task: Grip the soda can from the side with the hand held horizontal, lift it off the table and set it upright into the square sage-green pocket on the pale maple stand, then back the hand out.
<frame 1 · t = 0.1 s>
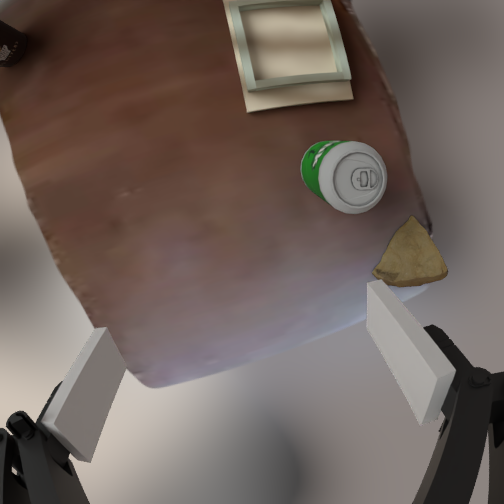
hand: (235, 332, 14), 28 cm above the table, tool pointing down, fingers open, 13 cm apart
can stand: (286, 44, 32), on the table
soda can: (325, 167, 39), on the table
rock: (394, 249, 43), on the table
coffee mug: (9, 54, 28), on the table
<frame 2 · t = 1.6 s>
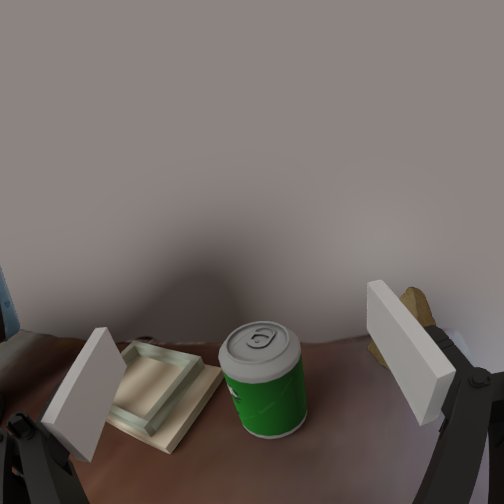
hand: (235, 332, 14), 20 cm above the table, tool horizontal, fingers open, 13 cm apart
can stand: (147, 394, 36), on the table
soda can: (275, 418, 30), on the table
rock: (402, 367, 32), on the table
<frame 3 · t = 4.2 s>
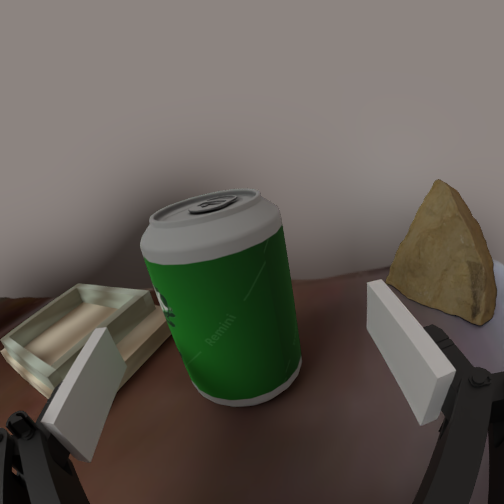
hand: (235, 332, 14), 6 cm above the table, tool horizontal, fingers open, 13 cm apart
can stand: (80, 346, 25), on the table
soda can: (249, 376, 20), on the table
rock: (439, 302, 22), on the table
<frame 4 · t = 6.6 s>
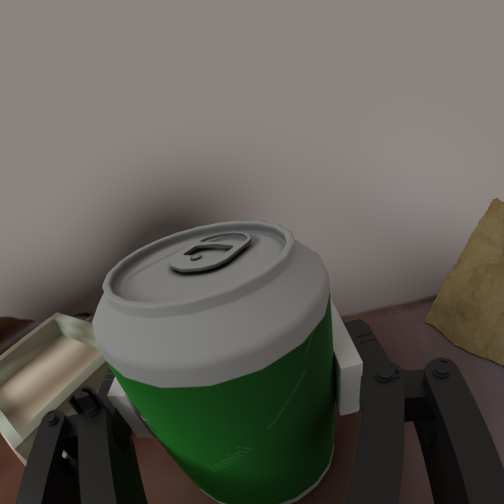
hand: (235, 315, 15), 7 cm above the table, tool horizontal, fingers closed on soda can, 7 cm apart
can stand: (58, 393, 19), on the table
soda can: (263, 459, 13), on the table, touching gripper
rock: (487, 347, 16), on the table
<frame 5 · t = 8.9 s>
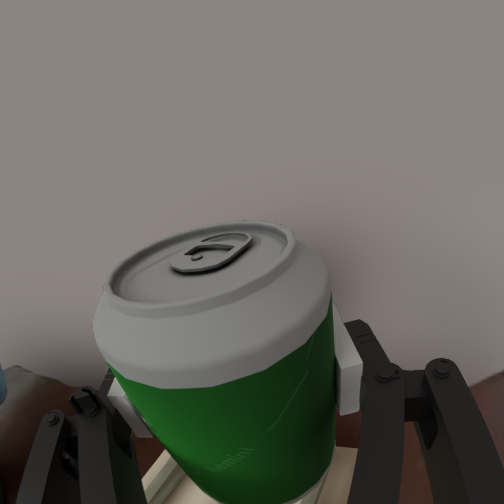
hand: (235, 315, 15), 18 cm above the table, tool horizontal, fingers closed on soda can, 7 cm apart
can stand: (241, 500, 19), on the table
soda can: (264, 460, 13), point 11 cm above the table, touching gripper
when the fingers open (9 cm above the table, at t = 11.6 s): soda can drops 1 cm, resting on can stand.
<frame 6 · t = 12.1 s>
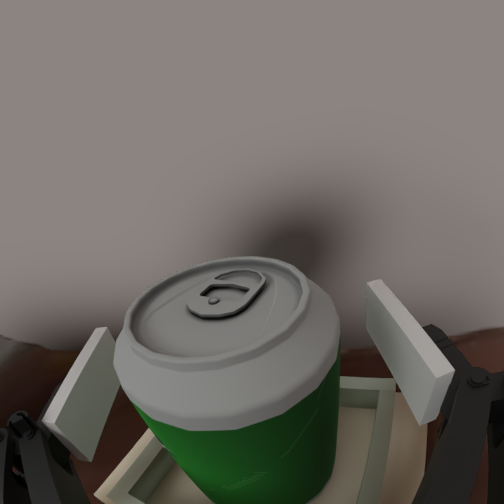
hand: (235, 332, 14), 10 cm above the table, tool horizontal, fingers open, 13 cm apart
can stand: (270, 477, 14), on the table
soda can: (268, 470, 14), point 1 cm above the table, touching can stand
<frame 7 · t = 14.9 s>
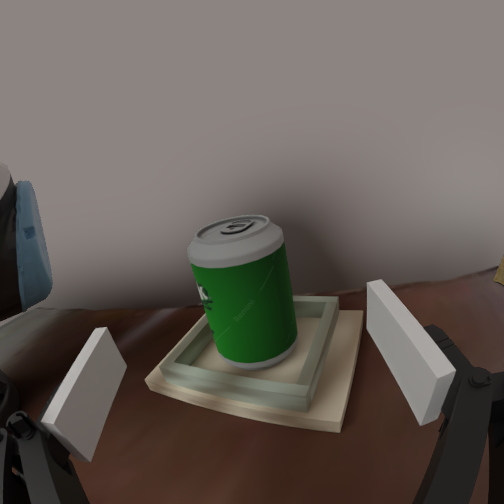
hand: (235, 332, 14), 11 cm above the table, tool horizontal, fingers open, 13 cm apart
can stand: (261, 360, 28), on the table
soda can: (259, 350, 27), point 1 cm above the table, touching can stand
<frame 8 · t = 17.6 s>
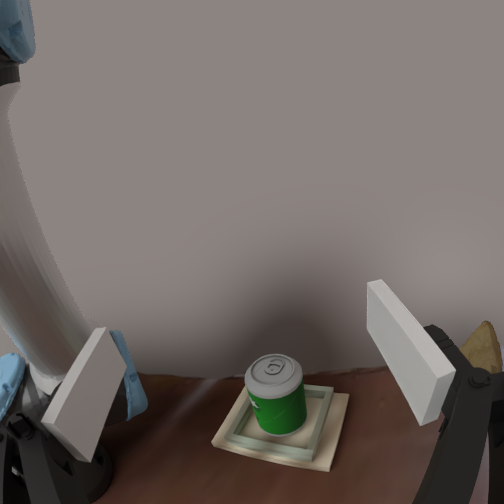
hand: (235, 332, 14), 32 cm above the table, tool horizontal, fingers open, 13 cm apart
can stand: (283, 425, 41), on the table
soda can: (283, 421, 40), point 1 cm above the table, touching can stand
rock: (474, 378, 37), on the table
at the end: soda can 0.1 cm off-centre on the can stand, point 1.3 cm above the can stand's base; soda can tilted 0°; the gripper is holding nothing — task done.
